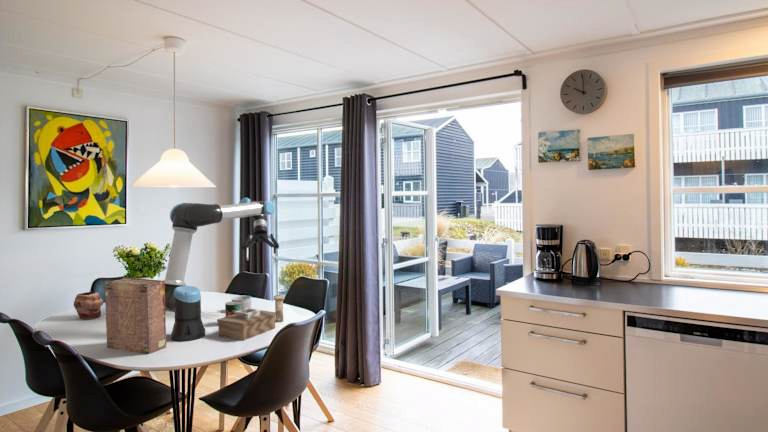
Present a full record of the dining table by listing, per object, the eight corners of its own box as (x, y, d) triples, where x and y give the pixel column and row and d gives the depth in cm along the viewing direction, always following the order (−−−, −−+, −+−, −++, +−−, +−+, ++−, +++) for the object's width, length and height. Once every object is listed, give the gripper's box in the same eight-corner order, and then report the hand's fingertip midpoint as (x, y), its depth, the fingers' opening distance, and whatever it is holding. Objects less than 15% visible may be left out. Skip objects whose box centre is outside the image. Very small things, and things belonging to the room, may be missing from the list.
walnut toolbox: (243, 340, 215) (243, 318, 215) (217, 336, 223) (216, 314, 222) (276, 328, 235) (276, 307, 235) (251, 323, 243) (250, 304, 243)
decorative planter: (63, 319, 255) (62, 294, 254) (84, 313, 267) (83, 289, 266) (91, 322, 249) (90, 296, 248) (111, 316, 260) (110, 291, 260)
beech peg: (280, 323, 244) (279, 297, 243) (271, 321, 247) (271, 296, 246) (286, 320, 249) (286, 295, 248) (278, 319, 252) (278, 294, 251)
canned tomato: (225, 326, 239) (224, 305, 239) (226, 322, 247) (225, 301, 246) (241, 324, 241) (240, 304, 241) (241, 320, 249) (241, 300, 249)
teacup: (248, 313, 265) (247, 299, 264) (229, 313, 265) (228, 299, 265) (255, 307, 279) (255, 294, 278) (237, 307, 279) (237, 294, 279)
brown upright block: (106, 347, 207) (104, 280, 206) (124, 341, 216) (122, 277, 214) (149, 354, 198) (147, 284, 197) (166, 347, 207) (164, 280, 205)
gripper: (282, 232, 274) (283, 261, 261) (238, 233, 269) (237, 263, 255) (282, 224, 269) (283, 253, 255) (237, 225, 263) (236, 254, 249)
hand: (260, 258), depth 255 cm, fingers open, 13 cm apart
